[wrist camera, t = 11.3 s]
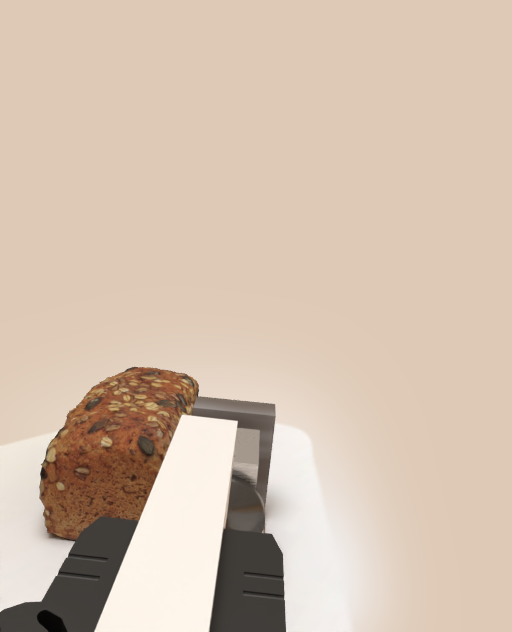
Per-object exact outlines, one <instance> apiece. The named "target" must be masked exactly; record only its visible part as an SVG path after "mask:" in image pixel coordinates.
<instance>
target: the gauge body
mask: <svg viewBox="0 0 512 632" xmlns="http://www.w3.org/2000/svg"><path fill="white" fill-rule="evenodd" d="M193 416H198V417H207V418H215V419H224V420H233V421H238V424H237V428H244V429H254V430H260V439H259V466H258V475H257V484H256V490H257V491H258V493H259V494H260V496H261V498H262V500H263V504H264V509H265V502H266V493H267V485H268V476H269V468H270V459H271V450H272V442H273V433H274V424H275V404H268V403H258V402H248V401H237V400H228V399H218V398H208V397H198V396H197V399H196V401H195V404H194V407H193ZM264 531H265V524H264V529H263V532H262V533H264Z"/></svg>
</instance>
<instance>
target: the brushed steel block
mask: <svg viewBox="0 0 512 632" xmlns="http://www.w3.org/2000/svg"><path fill="white" fill-rule="evenodd" d="M259 439H260V430H254V429H244V428H237V432H236V441H235V450H234V459H233V468H232V477H231V485H230V494H229V503H228V512H227V519H226V527H225V529H232V530H240V531H249V532H258V533H262V532H263V529H264V524H265V509H264V504H263V500H262V498H261V496H260V494H259V493H258V491H257V490H256V484H257V475H258V466H259Z"/></svg>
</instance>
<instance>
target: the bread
mask: <svg viewBox="0 0 512 632" xmlns="http://www.w3.org/2000/svg"><path fill="white" fill-rule="evenodd" d="M198 387H199V385H198V383H197V381H196V380H194V379H193V378H192V377H190V376H188V375H187V374H182V373H176V372H172V371H168V370H160V369H157V368H144V367H142V368H141V367H140V368H138V367H132V368H129V369H127V370H126V371H125V372H122V373H119V374H117V375H115V376H112V377H108V378H106V380H104V381H102V382H100V384H98V385H96V386H94V387H93V388H92V389H91V390H90V391H89V392H88V393H87V395H86V396H85V397H84V399H83V400H82V401H81V402H80V404H78V405H77V406H76V408H74V409H73V410H71V411H70V412H69V413H68V415H67V420H66V423H65V425H64V427H63V428H62V429H60V430H59V432H58V434H57V435H56V437H55V438H54V439H53V440H52V441H51V442H50V444H49V446H48V448H47V451H46V457H45V460H44V462H43V464H41V465H42V469H41V473H40V475H41V482H40V486H39V488H40V496H39V498H40V500H41V501H42V503H43V505H44V507H45V510H44V513H43V516H44V517H45V526H46V528H47V533H53V534H55V535H57V536H60V537H63V538H66V539H70V540H77V538H78V536H79V534H80V533H81V532H82V531H83V530H84V529H86V528H87V527H88V526H89V525H90V524H92V523H93V522H94V521H95V520H97V519H98V518H99V517H100V516H103V517H112V518H121V519H129V520H138V521H139V520H140V517H141V515H142V513H143V510H144V508H145V505H146V503H147V500H148V498H149V495H150V493H151V490H152V488H153V485H154V483H155V480H156V478H157V475H158V473H159V470H160V468H161V465H162V463H163V461H164V458H165V456H166V453H167V451H168V448H169V446H170V443H171V441H172V438H173V436H174V433H175V431H176V428H177V426H178V423H179V421H180V418H181V416H182V415H189V416H193V407H194V404H195V401H196V399H197V396H198V392H199V389H198Z"/></svg>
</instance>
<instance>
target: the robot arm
mask: <svg viewBox="0 0 512 632" xmlns="http://www.w3.org/2000/svg"><path fill="white" fill-rule="evenodd" d="M237 424H238V421H233V420H224V419H215V418H207V417H198V416H189V415H182V416H181V418H180V421H179V423H178V426H177V428H176V431H175V433H174V436H173V438H172V441H171V443H170V446H169V448H168V451H167V453H166V456H165V458H164V461H163V463H162V465H161V468H160V470H159V473H158V475H157V478H156V480H155V483H154V485H153V488H152V490H151V493H150V495H149V498H148V500H147V503H146V505H145V508H144V510H143V513H142V515H141V517H140V520H139V521H138V520H129V519H121V518H112V517H103V516H100V517H99V518H98V519H97V520H95V521H94V522H93V523H92V524H90V525H89V526H88V527H87V528H86V529H84V530H83V531H82V532H81V533H80V534H79V536H78V538H77V540H76V541H75V543H74V545H73V547H72V549H71V550H70V552H69V555H68V558H66V559H65V561H64V563H63V564H62V566H61V568H60V570H59V572H58V576H56V577H55V579H54V580H53V582H52V584H51V586H50V587H49V589H48V591H47V593H46V594H45V596H44V598H43V600H42V602H25V603H22V604H19V605H16V606H13V607H10V608H7V609H4V610H3V611H1V612H0V632H286V622H285V600H284V581H283V577H284V573H283V554H282V552H281V550H280V548H279V546H278V544H277V543H276V541H275V539H274V537H273V535H272V534H267V533H258V532H249V531H240V530H232V529H225V527H226V519H227V512H228V503H229V494H230V485H231V477H232V468H233V459H234V450H235V441H236V432H237Z"/></svg>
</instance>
